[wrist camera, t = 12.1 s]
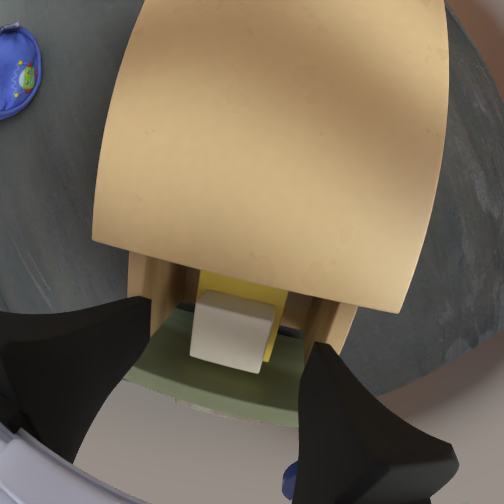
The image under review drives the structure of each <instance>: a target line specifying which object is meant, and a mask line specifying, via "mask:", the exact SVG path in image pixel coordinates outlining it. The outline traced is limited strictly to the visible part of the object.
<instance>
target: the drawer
mask: <svg viewBox="0 0 504 504" xmlns="http://www.w3.org/2000/svg"><path fill="white" fill-rule="evenodd" d="M199 276H200V269H196V268H192V267H188V266H184V265H180V264H177V263H173V262H169V261H165V260H161V259H158V258H154V257H150V256H146V255H143V254H139V253H135V252H132V251H129V265H128V294H127V298H129V297H133V296H142V297H145V298H148V299H152V305H151V330H150V341H149V343H148V345H147V347H146V348H145V350H144V352H143V353H142V355H141V356H140V358H139V359H138V360H137V362H136V363H135V364H134V365H133V366H132V368H131V369H130V370H129V371H128V372H127V374H126V375H125V376H124V377H123V378H124V379H126V380H129V381H131V382H133V383H136V384H138V385H141V386H143V387H146V388H148V389H151V390H154V391H157V392H159V393H162V394H165V395H167V396H170V397H174V398H176V399H175V401H176V403H177V404H180V405H183V406H186V407H189V408H193V409H196V410H199V411H203V412H206V413H209V414H213V415H216V416H220V417H224V418H228V419H232V420H236V421H240V422H245V423H249V424H254V425H260V424H261V422H267V423H272V424H278V425H284V426H290V427H296V428H299V424H298V393H299V384H300V378H301V376H302V373H303V371H304V368H305V366H306V363H307V361H308V358H309V355H310V353H311V350H312V347H313V345H314V342H315V341H316V342H322V343H327V344H330V345H331V346H332V348H333V349H334V350H335V351H336V353H337V354H338V355H339V354H340V352H341V349H342V347H343V345H344V342H345V340H346V337H347V335H348V332H349V330H350V327H351V325H352V322H353V319H354V317H355V314H356V311H357V309H358V306H356V305H352V304H347V303H342V302H337V301H333V300H328V299H323V298H319V297H314V296H310V295H305V294H301V293H296V292H292V291H289V293H288V296H287V300H286V304H285V307H284V311H283V315H282V318H281V322H280V325H281V326H285V327H290V328H295V329H299V330H303V340H302V339H297V338H292V337H288V336H283V335H279V334H277V336H276V339H275V342H274V346H273V349H272V353H271V356H270V359H269V362H265V361H262V364H261V368H260V371H259V373H252V372H248V371H244V370H240V369H236V368H232V367H228V366H224V365H220V364H217V363H213V362H209V361H206V360H202V359H199V358H196V357H192V356H190V345H191V336H192V327H193V319H194V313H192V312H188V311H185V310H181V309H178V308H177V306H178V305H179V304H180V303H181V302H182V301H186V302H189V303H193V304H195V303H196V298H197V291H198V283H199Z"/></svg>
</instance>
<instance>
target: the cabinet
mask: <svg viewBox="0 0 504 504" xmlns="http://www.w3.org/2000/svg"><path fill="white" fill-rule="evenodd" d="M448 90H449V52H448V34H447V23H446V14H445V6H444V0H145V2H144V4H143V7H142V9H141V11H140V14H139V16H138V18H137V21H136V23H135V26H134V29H133V31H132V34H131V36H130V39H129V42H128V45H127V48H126V51H125V54H124V57H123V60H122V63H121V66H120V69H119V73H118V76H117V79H116V83H115V87H114V90H113V94H112V98H111V102H110V106H109V111H108V115H107V120H106V124H105V129H104V134H103V140H102V145H101V151H100V158H99V164H98V172H97V179H96V188H95V198H94V209H93V224H92V240H93V241H96V242H100V243H103V244H107V245H110V246H114V247H117V248H121V249H125V250H128V251H132V252H135V253H139V254H143V255H146V256H150V257H154V258H158V259H161V260H165V261H169V262H173V263H177V264H180V265H184V266H188V267H192V268H196V269H200V270H204V271H208V272H212V273H216V274H220V275H224V276H228V277H232V278H236V279H240V280H244V281H249V282H253V283H257V284H261V285H266V286H270V287H274V288H279V289H283V290H287V291H292V292H296V293H301V294H305V295H310V296H314V297H319V298H323V299H328V300H333V301H337V302H342V303H347V304H352V305H356V306H361V307H366V308H371V309H376V310H381V311H386V312H391V313H396V314H398V313H399V312H400V309H401V307H402V304H403V301H404V299H405V296H406V294H407V291H408V288H409V285H410V283H411V280H412V277H413V274H414V271H415V268H416V265H417V262H418V259H419V255H420V252H421V249H422V246H423V242H424V239H425V235H426V231H427V228H428V224H429V220H430V216H431V212H432V208H433V203H434V199H435V194H436V189H437V184H438V179H439V173H440V168H441V162H442V155H443V148H444V140H445V132H446V122H447V109H448Z"/></svg>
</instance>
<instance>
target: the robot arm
mask: <svg viewBox="0 0 504 504" xmlns="http://www.w3.org/2000/svg"><path fill="white" fill-rule="evenodd" d="M151 305H152V299H148V298H145V297H142V296H133V297H129V298H125V299H121V300H118V301H114V302H110V303H107V304H103V305H99V306H95V307H91V308H86V309H82V310H77V311H71V312H64V313H55V314H17V313H8V312H2V311H0V504H150V503H148V502H145V501H143V500H140V499H138V498H136V497H133V496H131V495H129V494H126V493H124V492H122V491H120V490H118V489H116V488H114V487H112V486H110V485H108V484H106V483H104V482H102V481H100V480H98V479H96V478H95V477H93V476H91V475H89V474H88V473H86V472H84V471H82V470H81V469H79V468H77V467H76V466H74V465H73V462H74V460H75V457H76V455H77V453H78V450H79V448H80V446H81V444H82V442H83V439H84V437H85V435H86V433H87V431H88V429H89V427H90V426H91V424H92V422H93V420H94V418H95V417H96V415H97V413H98V411H99V410H100V408H101V406H102V405H103V403H104V402H105V400H106V399H107V397H108V395H109V394H110V393H111V391H112V390H113V389H114V388H115V387H116V385H117V384H118V383H119V382H120V381H121V380H122V378H123V377H124V376H125V375H126V374H127V372H128V371H129V370H130V369H131V368H132V366H133V365H134V364H135V363H136V362H137V360H138V359H139V358H140V356H141V355H142V353H143V352H144V350H145V348H146V347H147V345H148V343H149V341H150V330H151ZM298 424H299V457H298V465H297V474H296V480H295V487H294V493H293V498H292V499H291V501H290V502H289V504H431V500H430V497H431V496H432V495H434V494H435V493H436V492H437V491H438V490H440V489H441V488H442V487H443V486H444V485H445V484H447V483H448V482H449V481H450V480H451V478H453V476H454V475H455V474H456V472H457V470H458V468H459V462H458V459H457V457H456V454H455V452H454V450H453V447H452V445H451V444H450V443H447V442H445V441H442V440H440V439H437V438H435V437H433V436H430V435H428V434H426V433H424V432H422V431H421V430H419V429H417V428H415V427H413V426H412V425H410V424H409V423H407V422H405V421H404V420H402V419H401V418H400V417H398V416H397V415H395V414H394V413H393V412H391V411H390V410H389V409H387V408H386V407H385V406H384V405H383V404H382V403H380V402H379V401H378V400H377V399H376V398H375V397H374V396H373V395H372V394H371V393H370V392H369V391H368V390H367V389H366V388H365V387H364V386H363V385H362V384H361V383H360V382H359V381H358V379H357V378H356V377H355V376H354V375H353V373H352V372H351V371H350V370H349V368H348V367H347V366H346V365H345V363H344V362H343V361H342V359H341V358H340V357H339V355H338V354H337V353H336V351H335V350H334V349H333V348H332V346H331V345H330V344H327V343H322V342H316V341H315V342H314V345H313V347H312V350H311V353H310V355H309V358H308V361H307V363H306V366H305V368H304V371H303V373H302V376H301V378H300V384H299V393H298ZM464 504H468V503H464Z"/></svg>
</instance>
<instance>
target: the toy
mask: <svg viewBox="0 0 504 504" xmlns="http://www.w3.org/2000/svg"><path fill="white" fill-rule="evenodd" d="M288 293H289V291H287V290H283V289H279V288H274V287H270V286H266V285H261V284H257V283H253V282H249V281H244V280H240V279H236V278H232V277H228V276H224V275H220V274H216V273H212V272H208V271H204V270H200V276H199V283H198V291H197V298H196V303H195V311H194V319H193V327H192V336H191V345H190V356H192V357H196V358H199V359H202V360H206V361H209V362H213V363H217V364H220V365H224V366H228V367H232V368H236V369H240V370H244V371H248V372H252V373H259V371H260V368H261V364H262V361H265V362H269V359H270V356H271V353H272V349H273V346H274V342H275V339H276V336H277V332H278V329H279V325H280V322H281V318H282V315H283V311H284V307H285V304H286V300H287V296H288Z"/></svg>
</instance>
